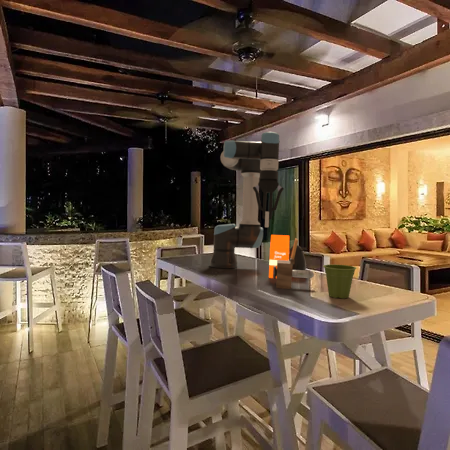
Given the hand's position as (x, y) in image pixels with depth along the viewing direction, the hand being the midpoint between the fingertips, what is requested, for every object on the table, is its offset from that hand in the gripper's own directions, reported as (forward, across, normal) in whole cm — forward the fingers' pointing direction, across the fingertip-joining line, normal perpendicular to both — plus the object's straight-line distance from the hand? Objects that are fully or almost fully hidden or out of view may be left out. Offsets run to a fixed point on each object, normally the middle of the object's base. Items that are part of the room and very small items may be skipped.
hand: (266, 227), depth 150 cm
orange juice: (+25, +6, +21) cm, 33 cm away
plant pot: (+25, +28, -13) cm, 39 cm away
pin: (+21, +12, 0) cm, 24 cm away
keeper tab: (+9, +11, 0) cm, 14 cm away
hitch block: (+24, +8, 0) cm, 26 cm away
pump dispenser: (+25, +14, +26) cm, 38 cm away
